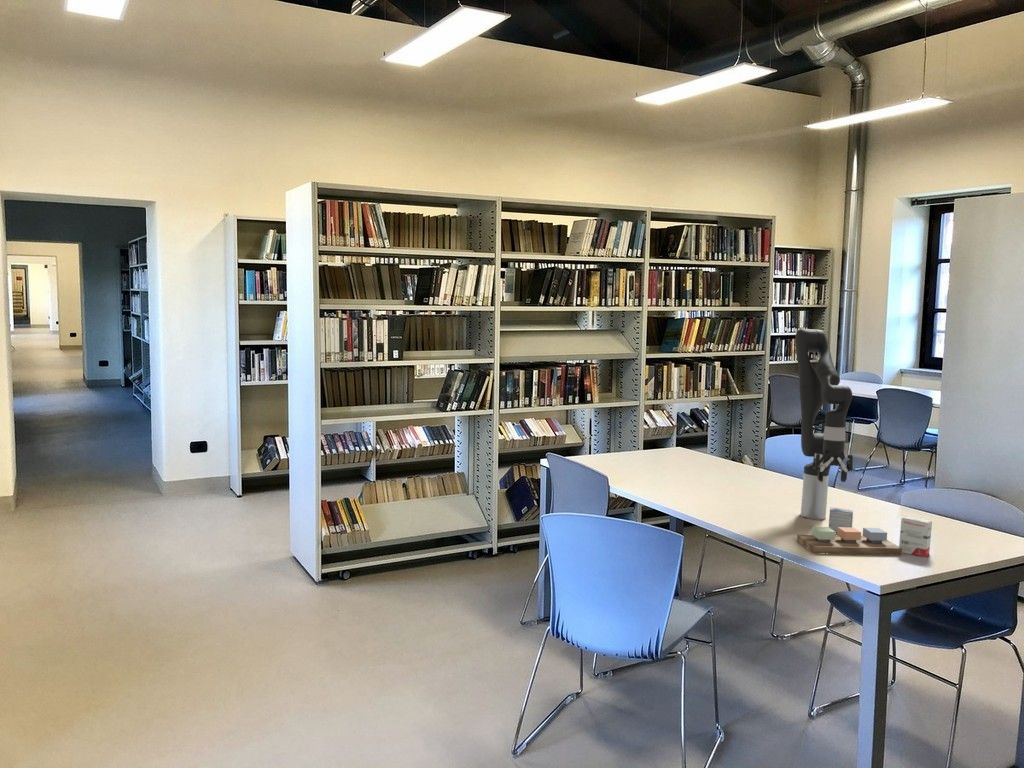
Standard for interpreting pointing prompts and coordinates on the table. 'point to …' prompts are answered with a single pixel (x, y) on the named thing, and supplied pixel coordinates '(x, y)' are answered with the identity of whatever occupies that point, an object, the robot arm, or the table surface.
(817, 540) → the button board
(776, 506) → the table surface
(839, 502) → the table surface
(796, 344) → the robot arm
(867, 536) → the slate button
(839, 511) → the medicine box
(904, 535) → the ink box
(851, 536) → the terracotta button
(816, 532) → the sage button
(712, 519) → the table surface
